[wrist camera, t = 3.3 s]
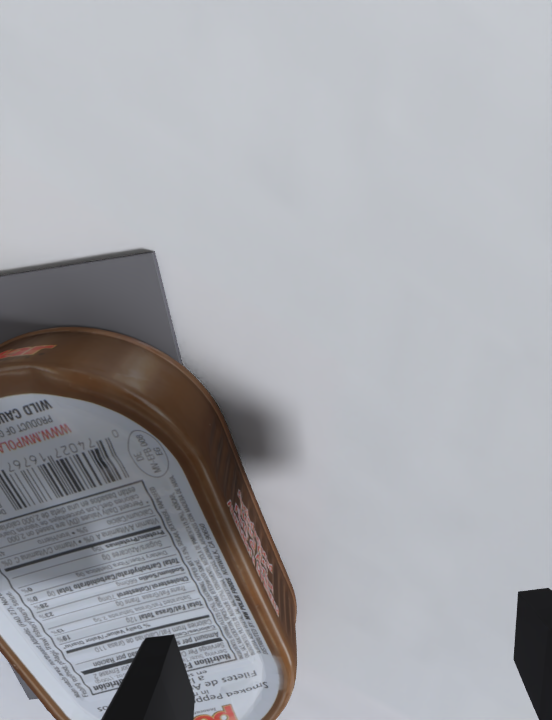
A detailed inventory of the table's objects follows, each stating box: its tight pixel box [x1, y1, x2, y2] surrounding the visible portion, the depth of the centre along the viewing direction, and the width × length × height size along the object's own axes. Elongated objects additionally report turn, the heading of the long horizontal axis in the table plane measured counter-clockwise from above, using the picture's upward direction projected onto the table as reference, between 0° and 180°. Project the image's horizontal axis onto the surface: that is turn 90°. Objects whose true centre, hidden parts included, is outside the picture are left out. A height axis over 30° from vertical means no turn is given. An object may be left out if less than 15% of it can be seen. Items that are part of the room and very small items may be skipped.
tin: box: [0, 327, 297, 720], centre depth 14 cm, size 15×3×8 cm
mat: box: [0, 251, 183, 700], centre depth 15 cm, size 16×9×1 cm, turn 9°
